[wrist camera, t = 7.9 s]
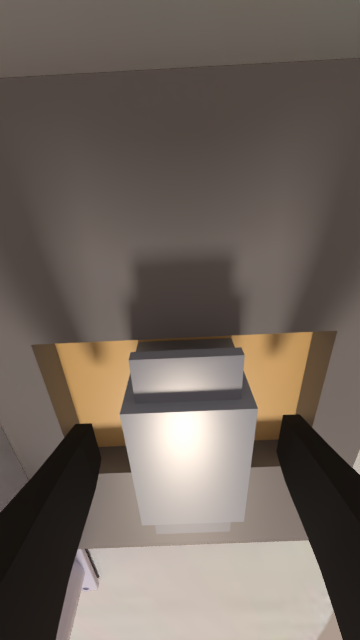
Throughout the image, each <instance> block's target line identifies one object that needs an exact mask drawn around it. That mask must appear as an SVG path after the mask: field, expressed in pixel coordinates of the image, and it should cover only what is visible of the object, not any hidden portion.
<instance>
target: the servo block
mask: <svg viewBox="0 0 360 640" xmlns="http://www.w3.org/2000/svg"><path fill="white" fill-rule="evenodd" d="M244 358H245V355H244V352H243V350H242V347H237V348H235V346H234V343H233V341H232V338H219V339H196V340H173V341H150V342H138V344H137V348H136V352H131V353H130V356H129V360H128V361H129V367H130V376H129V380H128V384H127V387H126V391H125V395H124V399H123V403H122V407H121V411H120V419H121V424H122V429H123V434H124V438H125V443H126V448H127V453H128V458H129V463H130V468H131V473H132V478H133V483H134V488H135V493H136V497H137V502H138V507H139V512H140V517H141V522H142V526H144V525H155V528H156V534H176V533H202V532H229V531H230V526H231V522H244V517H245V509H246V501H247V493H248V485H249V477H250V469H251V461H252V453H253V445H254V437H255V429H256V421H257V413H258V407H257V405H256V402H255V399H254V397H253V394H252V391H251V389H250V386H249V383H248V381H247V378H246V375H245V373H244Z"/></svg>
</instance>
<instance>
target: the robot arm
mask: <svg viewBox="0 0 360 640" xmlns="http://www.w3.org/2000/svg"><path fill="white" fill-rule="evenodd" d="M276 452H277V456H278V459H279V463H280V467H281V470H282V473H283V477H284V480H285V483H286V485H287V488H288V490H289V493H290V495H291V498H292V500H293V503H294V505H295V508H296V510H297V512H298V515H299V517H300V520H301V522H302V525H303V527H304V530H305V532H306V534H307V537H308V539H309V542H310V544H311V547H312V549H313V552H314V554H315V557H316V559H317V562H318V565H319V567H320V570H321V573H322V576H323V579H324V582H325V585H326V588H327V591H328V594H329V597H330V600H331V603H332V607H333V610H334V613H335V616H336V619H337V622H338V626H339V629H340V632H341V635H342V638H343V640H360V475H359V474H358V473H357V472H356V471H355V470H354V469H353V468H352V467H351V466H350V465H349V464H348V463H347V462H346V461H345V460H344V459H343V458H342V457H341V456H340V455H339V454H338V453H337V452H336V451H335V450H334V449H333V448H332V447H331V446H330V445H329V444H328V443H327V442H326V441H325V440H324V439H323V438H322V437H321V436H320V435H319V434H318V433H317V432H316V431H315V430H314V429H313V428H312V427H311V426H310V425H309V424H308V423H307V421H306V420H305V419H304V418H303V417H302V416H301V415H300V414H293V415H283V417H282V423H281V428H280V434H279V439H278V445H277V450H276ZM101 459H102V458H101V455H100V451H99V448H98V444H97V441H96V437H95V433H94V430H93V426H92V423H85V424H75V425H74V426H73V427H72V429H71V430H70V431H69V432H68V434H67V435H66V436H65V437H64V439H63V440H62V441H61V442H60V444H59V445H58V446H57V447H56V449H55V450H54V451H53V452H52V454H51V455H50V456H49V457H48V459H47V460H46V461H45V462H44V463H43V465H42V466H41V467H40V468H39V469H38V471H37V472H36V473H35V474H34V475H33V476H32V478H31V479H30V480H29V481H28V482H27V484H26V485H25V486H24V487H23V488H22V489H21V490H20V491H19V493H18V494H17V495H16V496H15V497H14V498H13V499H12V500H11V501H10V503H9V504H8V505H7V506H6V507H5V508H4V509H3V510H2V511H1V513H0V640H69V639H70V635H71V631H72V627H73V622H74V618H75V614H76V610H77V606H78V601H79V597H80V593H81V591H95V590H97V589H98V586H99V581H98V579H97V577H96V574H95V572H94V570H93V567H92V565H91V563H90V560H89V558H88V556H87V553H86V551H85V549H78V547H79V543H80V540H81V537H82V534H83V530H84V527H85V524H86V520H87V517H88V514H89V510H90V507H91V504H92V500H93V497H94V493H95V490H96V486H97V481H98V476H99V470H100V465H101Z"/></svg>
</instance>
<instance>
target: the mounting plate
mask: <svg viewBox="0 0 360 640" xmlns="http://www.w3.org/2000/svg"><path fill="white" fill-rule="evenodd" d="M219 338H232V341H233V343H234V346H235V348H237V347H242V350H243V352H244V355H245V358H244V373H245V375H246V378H247V381H248V383H249V386H250V389H251V391H252V394H253V397H254V399H255V402H256V405H257V407H258V413H257V421H256V429H255V437H254V445H253V453H252V461H251V469H250V477H249V485H248V493H247V501H246V509H245V517H244V522H231V526H230V531H229V532H202V533H176V534H156V528H155V525H144V526H142V522H141V517H140V512H139V507H138V502H137V497H136V493H135V488H134V483H133V478H132V473H131V468H130V463H129V458H128V453H127V448H126V443H125V438H124V434H123V429H122V424H121V419H120V411H121V407H122V403H123V399H124V395H125V391H126V387H127V384H128V380H129V376H130V367H129V361H128V360H129V356H130V353H131V352H136V348H137V344H138V342H150V341H173V340H196V339H219ZM293 414H300V415H301V416H302V417H303V418H304V419H305V420H306V421H307V423H308V424H309V425H310V426H311V427H312V428H313V429H314V430H315V431H316V432H317V433H318V434H319V435H320V436H321V437H322V438H323V439H324V440H325V441H326V442H327V443H328V444H329V445H330V446H331V447H332V448H333V449H334V450H335V451H336V452H337V453H338V454H339V455H340V456H341V457H342V458H343V459H344V460H345V461H346V462H347V463H348V464H349V465H350V466H351V467H353V465H354V462H355V460H356V457H357V455H358V452H359V450H360V58H351V59H333V60H315V61H297V62H279V63H261V64H243V65H226V66H208V67H190V68H172V69H154V70H136V71H118V72H100V73H82V74H64V75H46V76H29V77H11V78H0V424H1V426H2V428H3V430H4V432H5V434H6V436H7V438H8V440H9V442H10V444H11V446H12V448H13V450H14V452H15V454H16V456H17V458H18V460H19V462H20V464H21V466H22V468H23V470H24V472H25V474H26V476H27V478H28V480H30V479H31V478H32V476H33V475H34V474H35V473H36V472H37V471H38V469H39V468H40V467H41V466H42V465H43V463H44V462H45V461H46V460H47V459H48V457H49V456H50V455H51V454H52V452H53V451H54V450H55V449H56V447H57V446H58V445H59V444H60V442H61V441H62V440H63V439H64V437H65V436H66V435H67V434H68V432H69V431H70V430H71V429H72V427H73V426H74V425H75V424H85V423H92V426H93V430H94V433H95V437H96V441H97V444H98V448H99V451H100V455H101V458H102V459H101V465H100V470H99V476H98V481H97V486H96V490H95V493H94V497H93V500H92V504H91V507H90V510H89V514H88V517H87V520H86V524H85V527H84V530H83V534H82V537H81V540H80V543H79V547H78V549H92V548H118V547H144V546H170V545H196V544H222V543H248V542H274V541H300V540H309V539H308V537H307V534H306V532H305V530H304V527H303V525H302V522H301V520H300V517H299V515H298V512H297V510H296V508H295V505H294V503H293V500H292V498H291V495H290V493H289V490H288V488H287V485H286V483H285V480H284V477H283V473H282V470H281V467H280V463H279V459H278V456H277V452H276V450H277V445H278V439H279V434H280V428H281V423H282V417H283V415H293Z"/></svg>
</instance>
